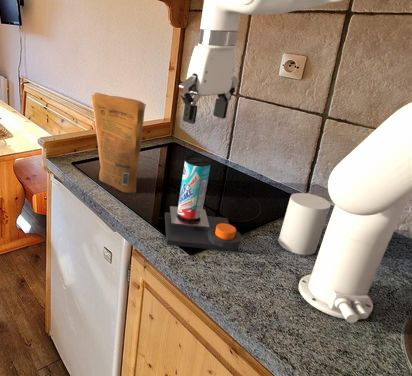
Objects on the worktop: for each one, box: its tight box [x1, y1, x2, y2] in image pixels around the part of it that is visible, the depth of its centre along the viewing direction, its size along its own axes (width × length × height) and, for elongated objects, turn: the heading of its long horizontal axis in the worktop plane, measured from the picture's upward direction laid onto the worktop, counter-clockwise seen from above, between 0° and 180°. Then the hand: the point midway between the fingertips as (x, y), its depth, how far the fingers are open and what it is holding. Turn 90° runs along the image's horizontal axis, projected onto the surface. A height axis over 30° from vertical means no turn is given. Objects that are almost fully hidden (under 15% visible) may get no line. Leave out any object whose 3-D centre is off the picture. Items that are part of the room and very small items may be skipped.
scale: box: [164, 211, 243, 253], centre depth 100 cm, size 15×17×3 cm
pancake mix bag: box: [90, 92, 147, 194], centre depth 120 cm, size 7×19×28 cm, turn 39°
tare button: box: [215, 223, 237, 240], centre depth 95 cm, size 4×4×2 cm
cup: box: [277, 192, 331, 256], centre depth 95 cm, size 8×8×12 cm
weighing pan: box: [169, 205, 210, 228], centre depth 102 cm, size 9×9×1 cm
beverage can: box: [177, 155, 212, 221], centre depth 99 cm, size 6×6×15 cm
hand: (204, 119), depth 91 cm, fingers open, 9 cm apart
